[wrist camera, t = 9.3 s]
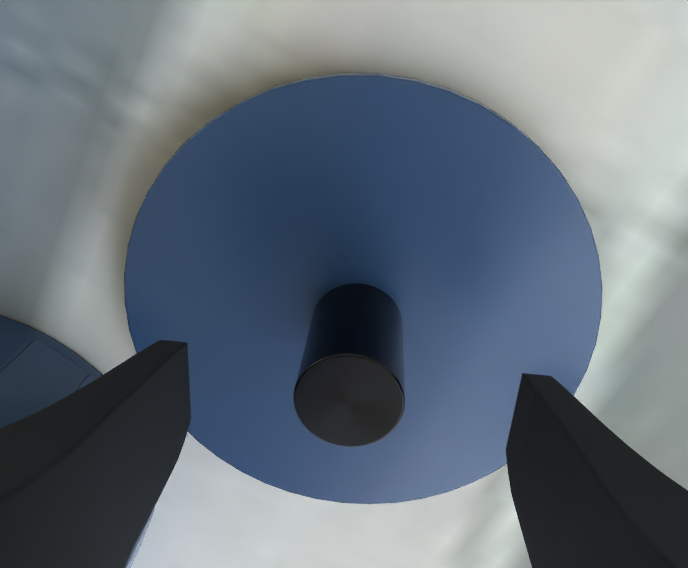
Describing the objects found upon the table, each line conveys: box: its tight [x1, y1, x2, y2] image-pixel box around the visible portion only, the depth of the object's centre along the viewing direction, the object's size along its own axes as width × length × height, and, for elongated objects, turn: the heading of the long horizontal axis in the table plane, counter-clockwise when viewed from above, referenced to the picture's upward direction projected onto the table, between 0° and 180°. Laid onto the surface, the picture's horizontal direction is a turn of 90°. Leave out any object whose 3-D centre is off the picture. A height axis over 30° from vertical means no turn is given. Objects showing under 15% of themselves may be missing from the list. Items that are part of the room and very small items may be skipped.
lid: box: [124, 73, 602, 504], centre depth 15 cm, size 13×13×5 cm
